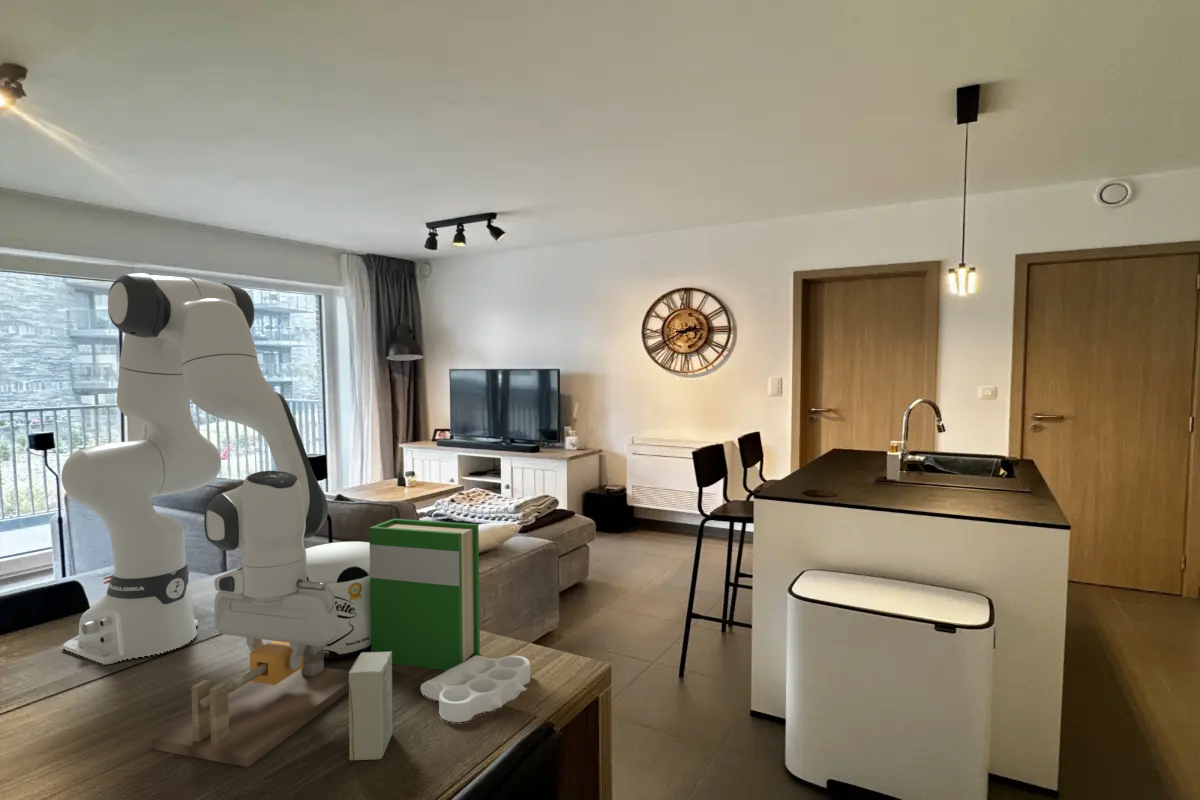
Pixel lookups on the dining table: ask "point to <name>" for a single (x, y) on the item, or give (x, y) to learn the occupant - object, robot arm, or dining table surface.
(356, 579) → the milk container
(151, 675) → the dining table surface
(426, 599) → the hardback book
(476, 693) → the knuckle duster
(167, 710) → the dining table surface
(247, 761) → the board
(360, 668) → the skincare box
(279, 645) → the marker sleeve
